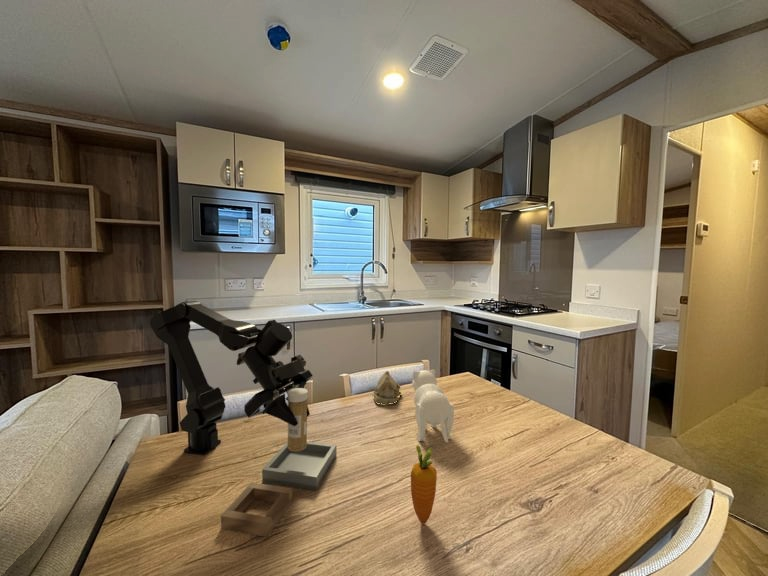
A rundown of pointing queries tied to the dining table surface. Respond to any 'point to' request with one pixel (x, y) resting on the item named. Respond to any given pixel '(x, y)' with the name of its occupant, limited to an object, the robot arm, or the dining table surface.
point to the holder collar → (255, 523)
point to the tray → (300, 466)
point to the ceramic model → (386, 390)
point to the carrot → (423, 486)
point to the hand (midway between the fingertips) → (302, 420)
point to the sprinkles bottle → (298, 419)
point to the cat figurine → (431, 404)
